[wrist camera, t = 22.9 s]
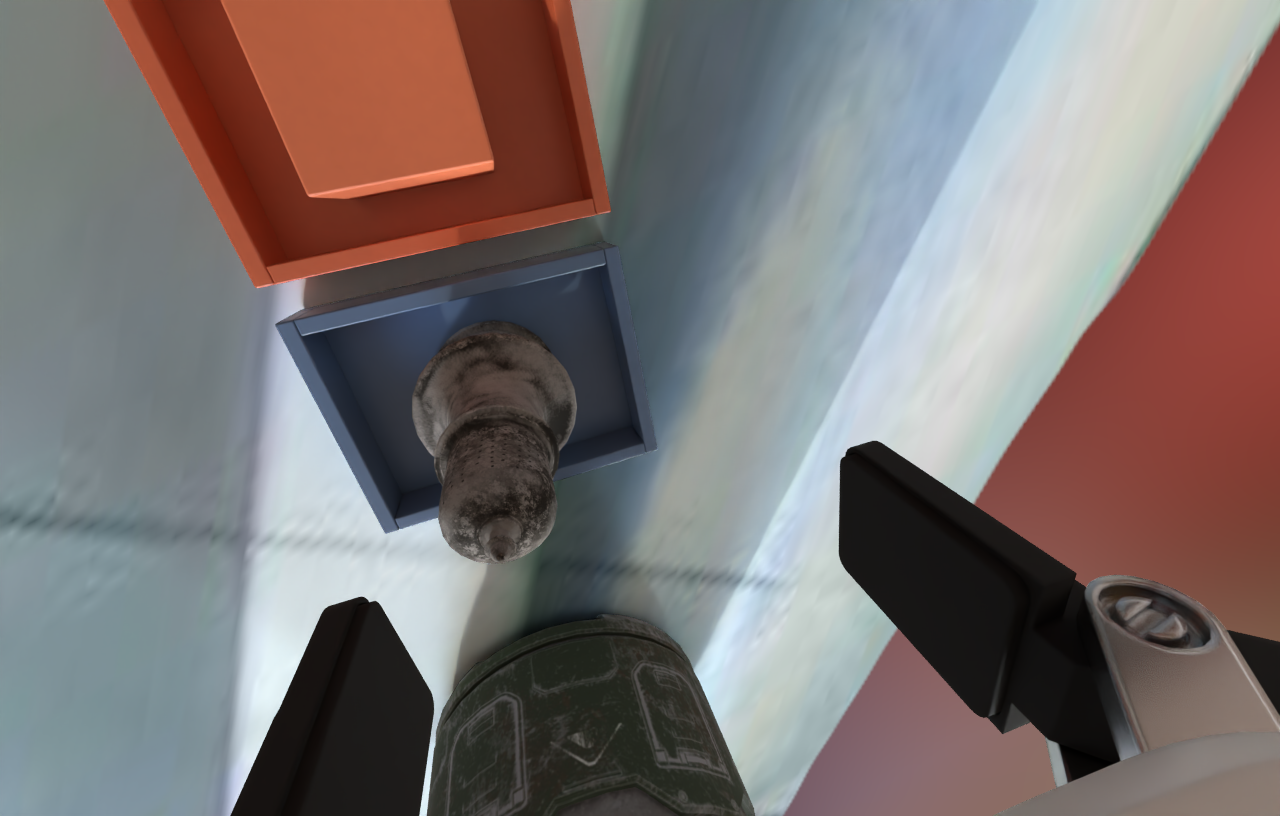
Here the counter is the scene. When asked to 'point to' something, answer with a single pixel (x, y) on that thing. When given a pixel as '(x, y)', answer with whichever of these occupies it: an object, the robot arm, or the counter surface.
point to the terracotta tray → (395, 222)
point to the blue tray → (421, 324)
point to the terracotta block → (365, 92)
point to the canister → (584, 730)
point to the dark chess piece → (495, 437)
